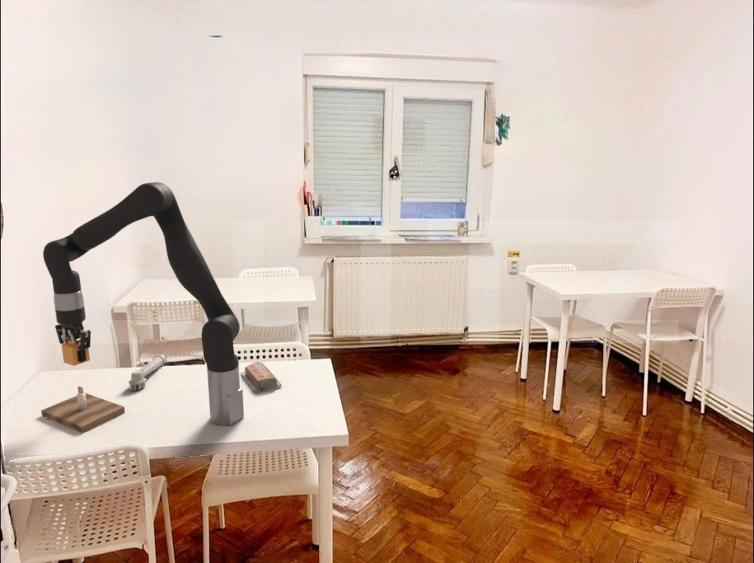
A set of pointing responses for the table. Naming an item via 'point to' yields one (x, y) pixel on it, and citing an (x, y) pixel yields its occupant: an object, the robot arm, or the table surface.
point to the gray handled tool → (145, 372)
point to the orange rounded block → (72, 353)
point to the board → (83, 413)
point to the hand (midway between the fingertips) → (76, 359)
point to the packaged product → (260, 378)
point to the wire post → (81, 399)
